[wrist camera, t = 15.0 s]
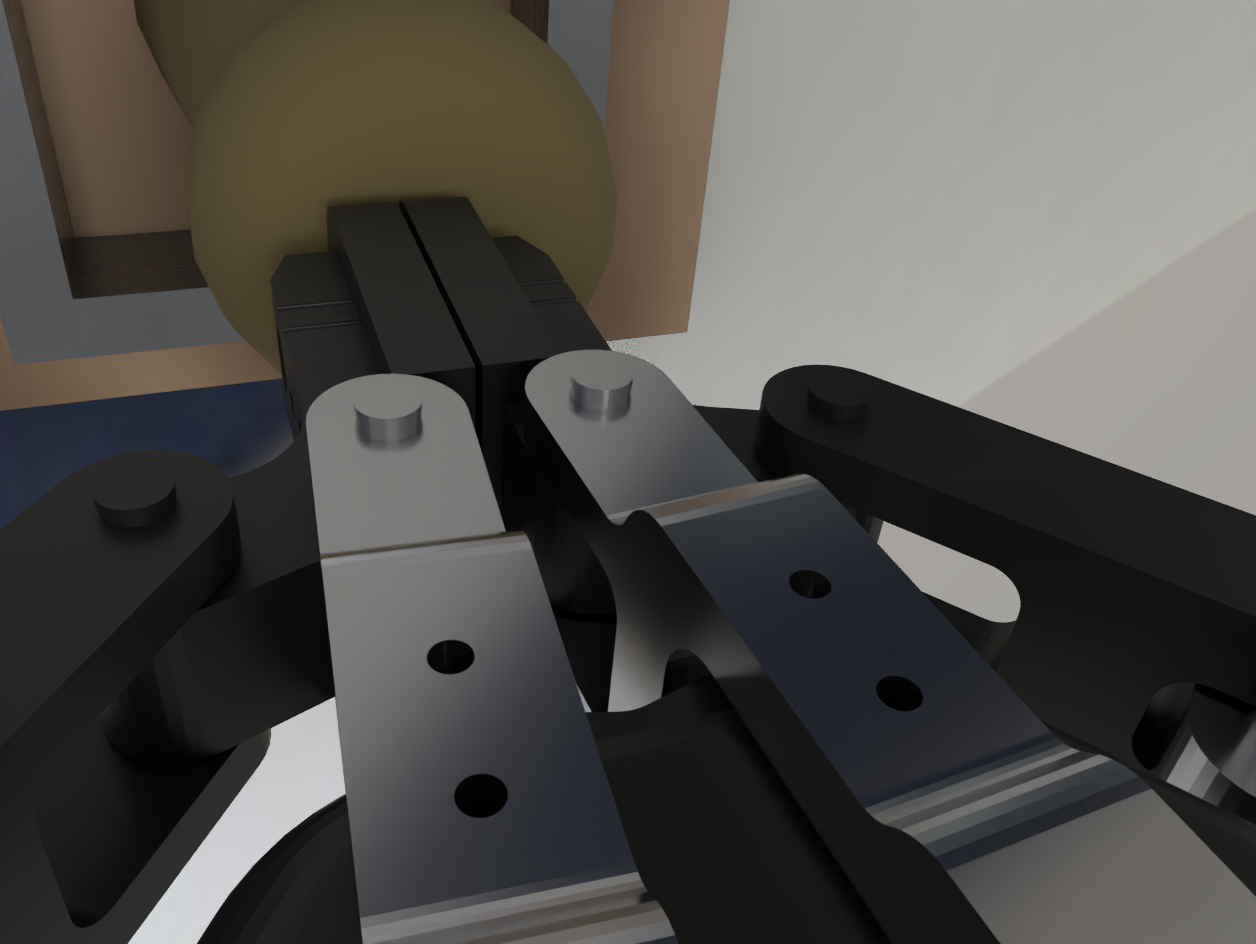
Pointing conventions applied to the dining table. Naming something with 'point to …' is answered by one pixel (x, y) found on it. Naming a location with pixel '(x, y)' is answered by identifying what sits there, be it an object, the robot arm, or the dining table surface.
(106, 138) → the hub plate
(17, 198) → the socket collar
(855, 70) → the dining table surface
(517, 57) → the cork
